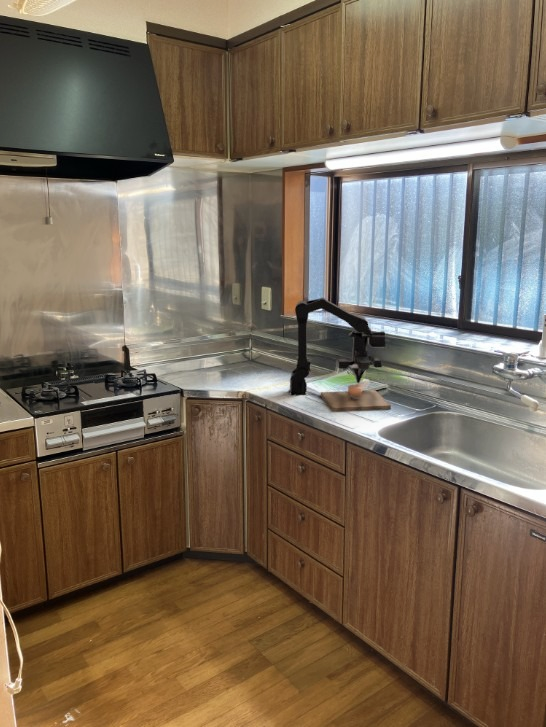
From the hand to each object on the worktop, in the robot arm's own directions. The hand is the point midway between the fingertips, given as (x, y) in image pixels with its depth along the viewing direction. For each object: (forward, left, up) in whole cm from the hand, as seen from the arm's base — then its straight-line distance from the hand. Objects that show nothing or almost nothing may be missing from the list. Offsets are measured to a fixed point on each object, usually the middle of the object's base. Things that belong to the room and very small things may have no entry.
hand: (357, 382), depth 255 cm
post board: (-4, -9, -6) cm, 11 cm away
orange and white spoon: (-1, -5, -2) cm, 5 cm away
